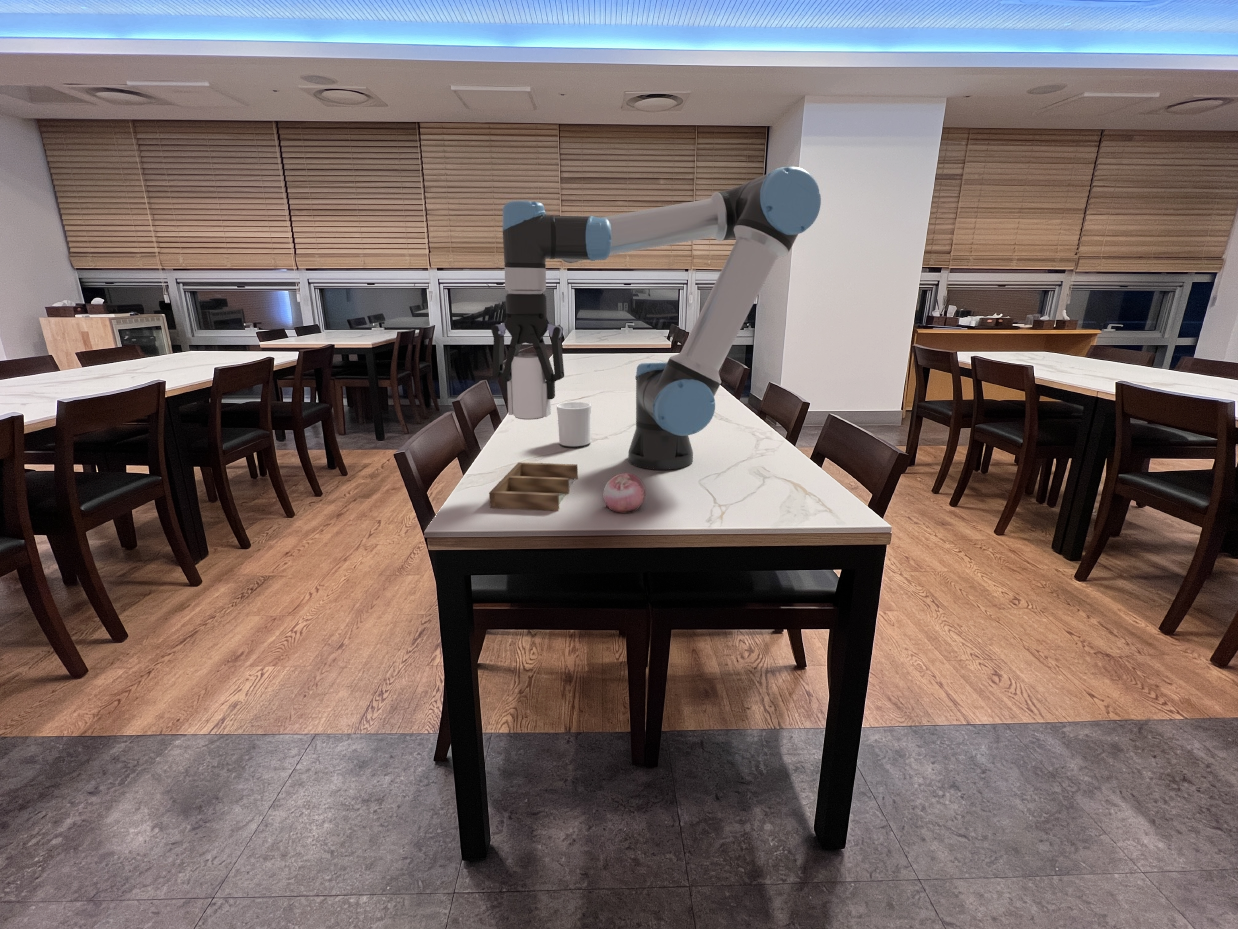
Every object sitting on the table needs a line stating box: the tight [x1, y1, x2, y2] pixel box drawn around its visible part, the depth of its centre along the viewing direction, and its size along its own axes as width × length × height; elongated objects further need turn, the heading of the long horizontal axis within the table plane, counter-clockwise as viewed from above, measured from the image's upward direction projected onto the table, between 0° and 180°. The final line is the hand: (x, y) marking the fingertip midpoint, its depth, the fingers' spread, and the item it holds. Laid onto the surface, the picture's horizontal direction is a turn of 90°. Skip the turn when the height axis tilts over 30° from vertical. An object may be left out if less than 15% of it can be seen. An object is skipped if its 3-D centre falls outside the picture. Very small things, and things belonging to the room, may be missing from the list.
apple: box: [602, 472, 647, 514], centre depth 108 cm, size 8×8×7 cm
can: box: [511, 352, 546, 421], centre depth 114 cm, size 6×6×12 cm
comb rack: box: [488, 462, 579, 511], centre depth 118 cm, size 13×19×3 cm
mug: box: [556, 401, 592, 449], centre depth 151 cm, size 11×9×10 cm
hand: (529, 414), depth 115 cm, fingers closed on can, 6 cm apart
